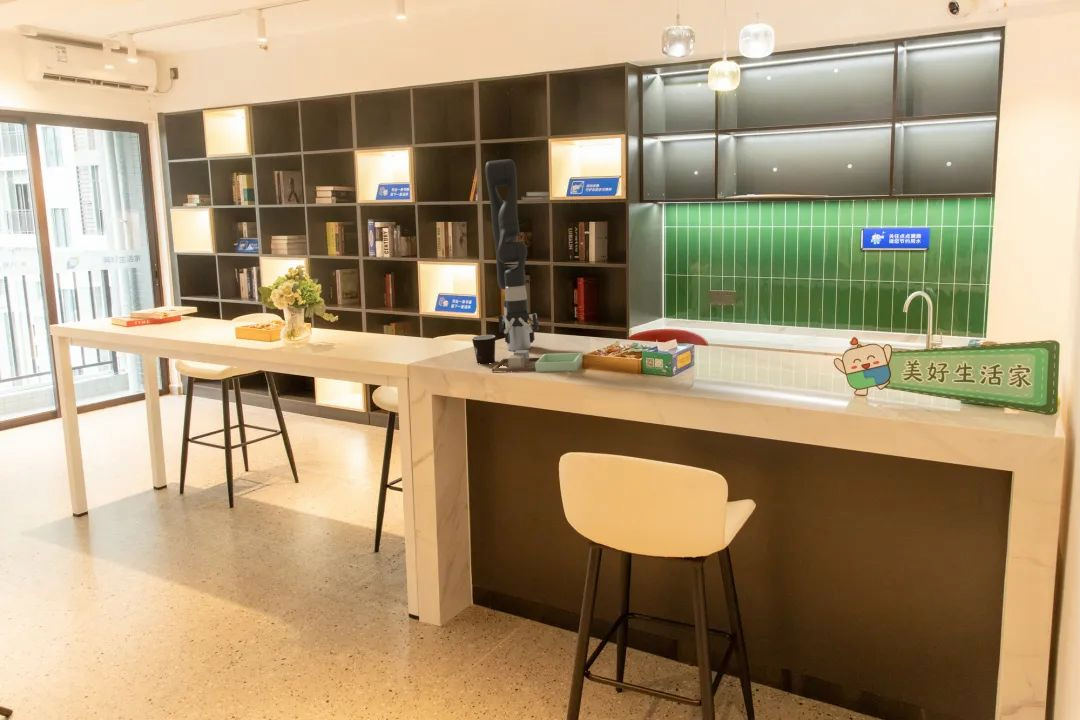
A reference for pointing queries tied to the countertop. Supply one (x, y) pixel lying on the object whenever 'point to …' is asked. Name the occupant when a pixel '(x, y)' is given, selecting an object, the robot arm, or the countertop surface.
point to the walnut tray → (528, 367)
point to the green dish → (559, 362)
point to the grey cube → (526, 355)
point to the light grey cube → (516, 361)
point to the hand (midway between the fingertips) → (520, 342)
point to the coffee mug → (484, 348)
